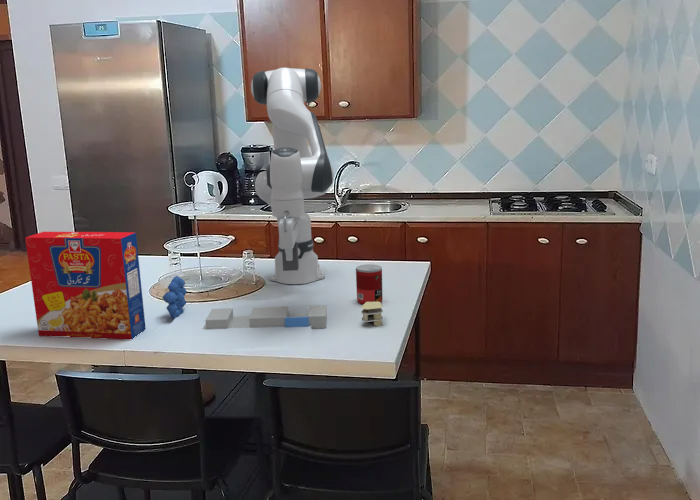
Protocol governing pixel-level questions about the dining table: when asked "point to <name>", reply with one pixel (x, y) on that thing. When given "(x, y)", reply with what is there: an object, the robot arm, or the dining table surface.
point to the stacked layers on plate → (372, 312)
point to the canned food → (369, 283)
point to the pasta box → (86, 284)
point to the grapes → (175, 297)
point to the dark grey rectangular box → (294, 263)
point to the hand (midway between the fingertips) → (290, 257)
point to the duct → (267, 318)
